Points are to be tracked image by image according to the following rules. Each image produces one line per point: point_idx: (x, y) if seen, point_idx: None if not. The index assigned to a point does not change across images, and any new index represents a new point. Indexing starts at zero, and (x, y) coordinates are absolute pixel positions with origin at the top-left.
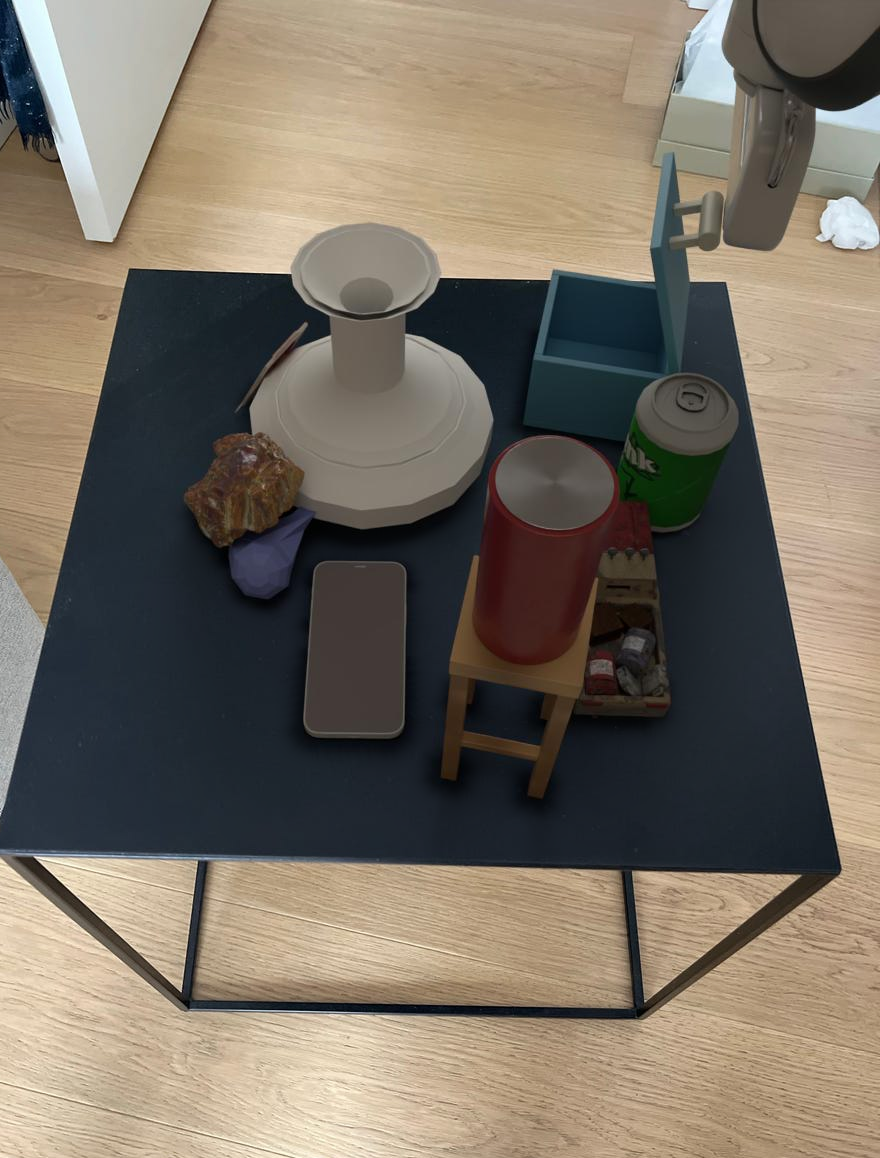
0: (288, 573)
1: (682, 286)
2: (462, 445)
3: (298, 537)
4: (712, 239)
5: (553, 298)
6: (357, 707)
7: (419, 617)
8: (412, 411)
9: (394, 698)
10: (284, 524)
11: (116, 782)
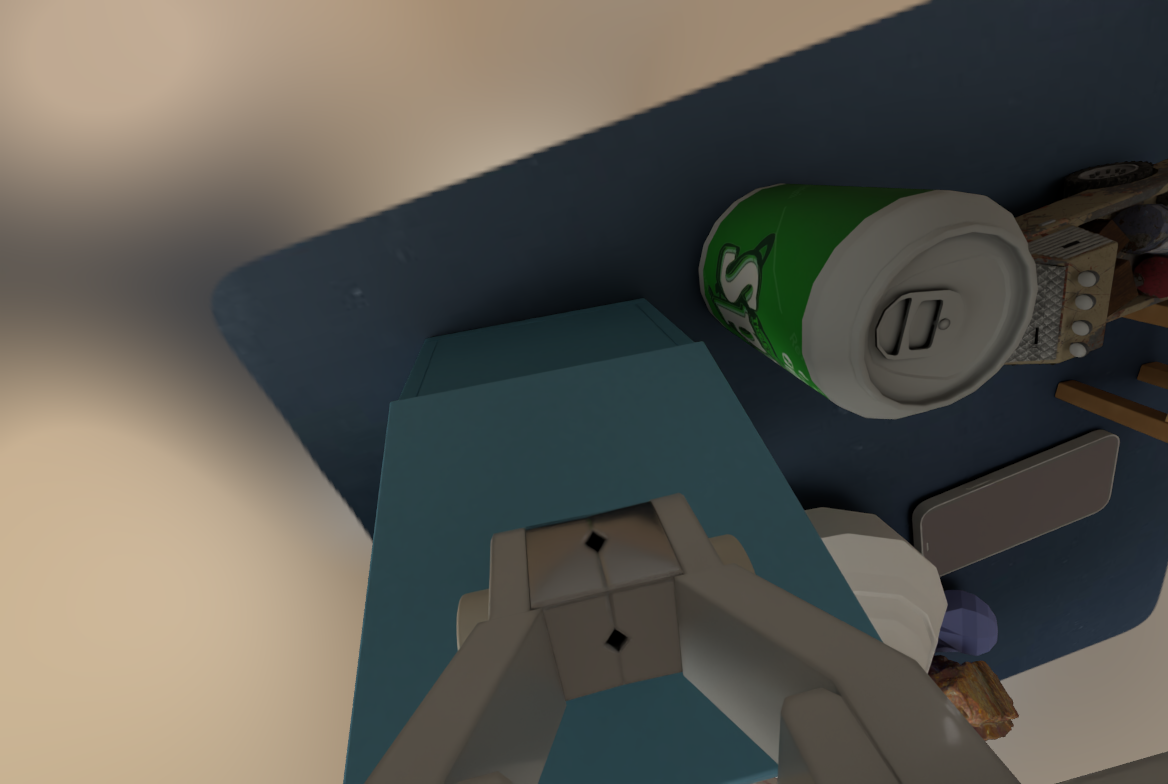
0: (970, 603)
1: (522, 444)
2: (863, 566)
3: None
4: None
5: None
6: (1088, 479)
7: (964, 466)
8: None
9: (1082, 454)
10: None
11: (1115, 593)
